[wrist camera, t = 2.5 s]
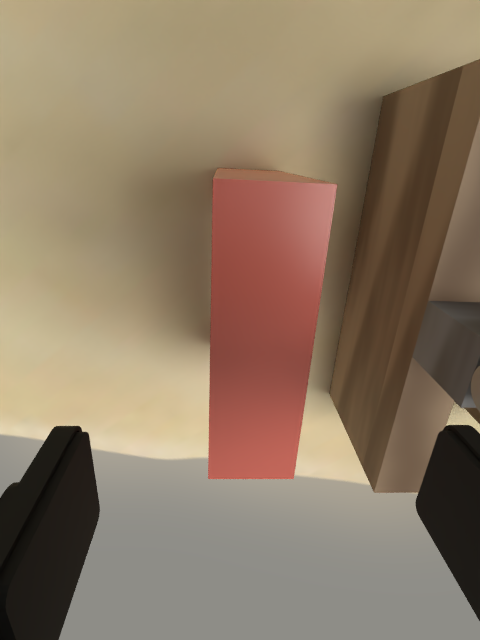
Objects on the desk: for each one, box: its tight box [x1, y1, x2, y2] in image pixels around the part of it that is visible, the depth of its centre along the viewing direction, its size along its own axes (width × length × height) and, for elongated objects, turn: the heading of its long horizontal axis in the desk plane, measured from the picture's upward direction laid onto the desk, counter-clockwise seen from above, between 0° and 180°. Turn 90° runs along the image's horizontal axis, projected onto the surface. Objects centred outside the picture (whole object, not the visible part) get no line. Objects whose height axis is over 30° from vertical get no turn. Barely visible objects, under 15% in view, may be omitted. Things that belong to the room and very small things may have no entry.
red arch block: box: [208, 168, 337, 479], centre depth 20 cm, size 4×13×13 cm, turn 177°
